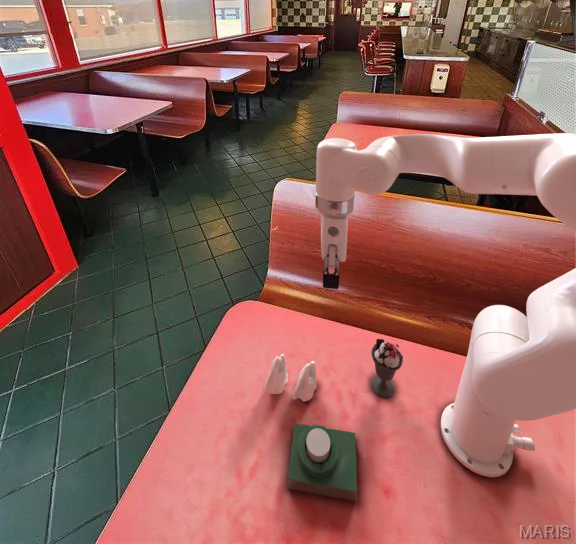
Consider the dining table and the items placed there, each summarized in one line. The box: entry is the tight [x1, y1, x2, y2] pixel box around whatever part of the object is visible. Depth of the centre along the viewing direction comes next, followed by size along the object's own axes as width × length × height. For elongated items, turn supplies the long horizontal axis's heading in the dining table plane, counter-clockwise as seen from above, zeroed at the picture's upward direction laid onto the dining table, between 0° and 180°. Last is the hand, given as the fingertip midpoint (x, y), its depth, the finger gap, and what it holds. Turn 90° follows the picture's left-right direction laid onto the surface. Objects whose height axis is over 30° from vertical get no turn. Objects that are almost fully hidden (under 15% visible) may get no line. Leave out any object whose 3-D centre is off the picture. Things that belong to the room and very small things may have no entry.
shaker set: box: [262, 353, 318, 402], centre depth 73 cm, size 12×4×11 cm, turn 84°
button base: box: [287, 422, 358, 502], centre depth 61 cm, size 12×9×5 cm
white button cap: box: [306, 428, 330, 463], centre depth 60 cm, size 4×4×2 cm
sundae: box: [370, 338, 404, 399], centre depth 73 cm, size 7×7×15 cm
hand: (331, 271), depth 71 cm, fingers open, 9 cm apart
